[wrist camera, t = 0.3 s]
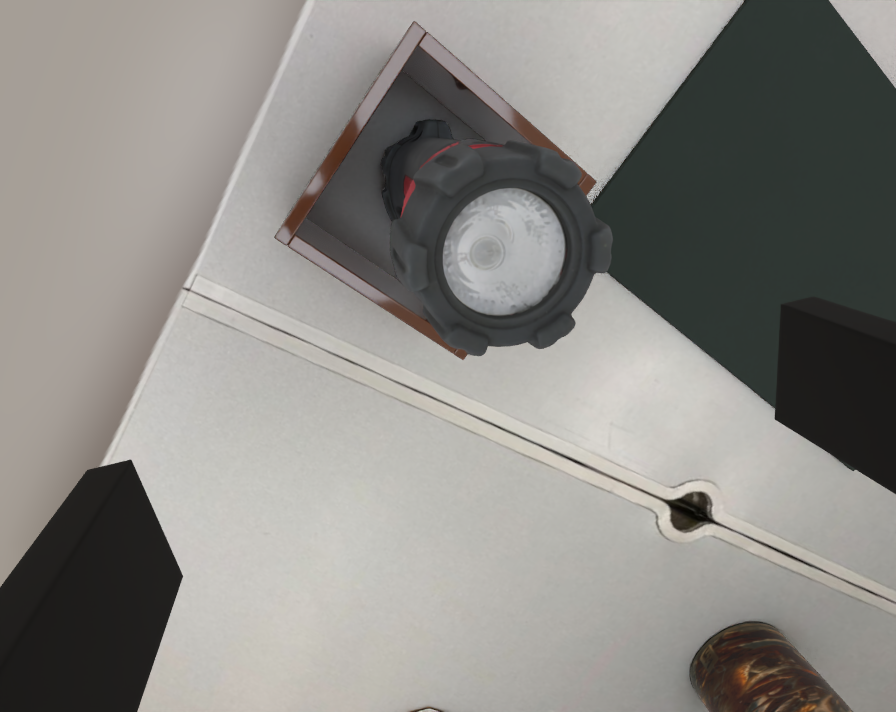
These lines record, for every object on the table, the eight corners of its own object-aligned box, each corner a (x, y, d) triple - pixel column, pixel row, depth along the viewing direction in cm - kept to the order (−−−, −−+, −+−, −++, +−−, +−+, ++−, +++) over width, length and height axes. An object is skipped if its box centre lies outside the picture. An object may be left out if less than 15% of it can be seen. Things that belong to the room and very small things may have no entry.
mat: (783, -51, 39) (788, -54, 39) (1031, 274, 53) (1037, 275, 53) (565, 238, 43) (568, 239, 43) (849, 468, 57) (853, 471, 57)
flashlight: (409, 272, 42) (489, 404, 21) (339, 184, 39) (350, 234, 18) (492, 205, 41) (662, 270, 20) (428, 111, 38) (548, 72, 17)
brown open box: (395, 47, 37) (414, 20, 28) (543, 174, 41) (597, 181, 33) (285, 217, 39) (273, 237, 31) (437, 319, 44) (463, 360, 35)
